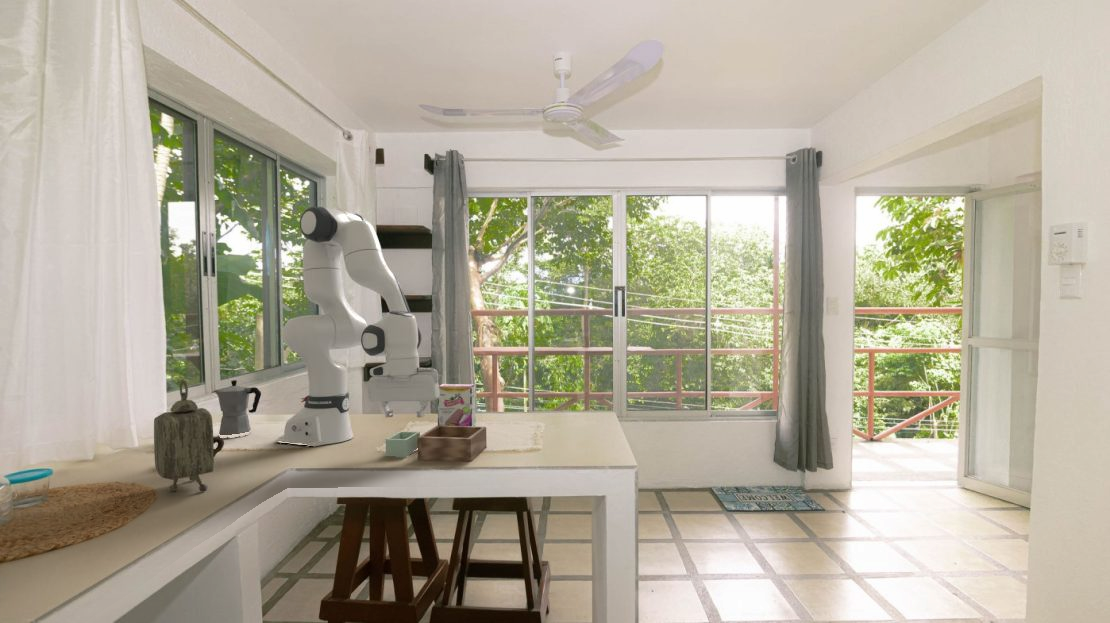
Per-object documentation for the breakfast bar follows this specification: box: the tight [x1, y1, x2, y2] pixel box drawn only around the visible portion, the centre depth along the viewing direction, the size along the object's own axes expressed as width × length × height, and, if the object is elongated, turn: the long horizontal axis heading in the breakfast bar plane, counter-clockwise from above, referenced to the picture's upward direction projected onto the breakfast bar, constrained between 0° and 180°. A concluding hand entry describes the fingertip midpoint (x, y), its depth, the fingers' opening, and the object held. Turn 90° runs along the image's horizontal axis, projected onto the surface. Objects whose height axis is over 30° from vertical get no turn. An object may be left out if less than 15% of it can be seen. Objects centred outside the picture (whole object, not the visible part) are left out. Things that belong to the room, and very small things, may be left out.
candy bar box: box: [437, 383, 477, 427], centre depth 167 cm, size 11×5×16 cm, turn 84°
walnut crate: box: [417, 424, 488, 463], centre depth 148 cm, size 15×14×6 cm
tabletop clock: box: [153, 379, 215, 492], centre depth 121 cm, size 14×9×25 cm, turn 45°
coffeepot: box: [213, 379, 262, 435], centre depth 172 cm, size 15×9×18 cm, turn 88°
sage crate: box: [385, 430, 421, 458], centre depth 150 cm, size 6×9×5 cm, turn 171°
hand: (404, 417), depth 149 cm, fingers open, 8 cm apart
